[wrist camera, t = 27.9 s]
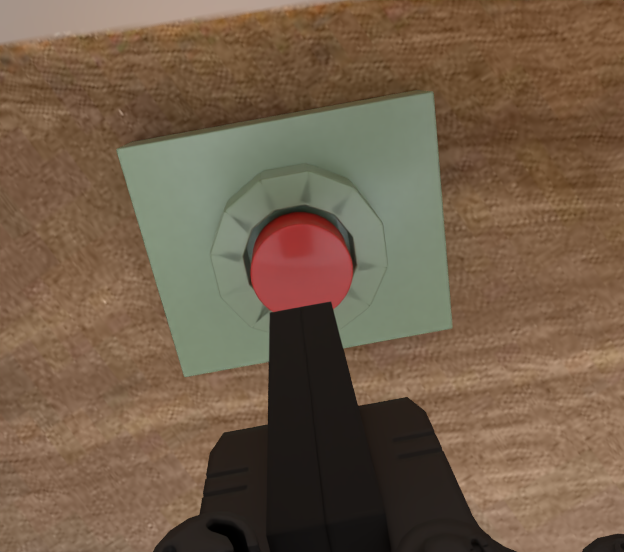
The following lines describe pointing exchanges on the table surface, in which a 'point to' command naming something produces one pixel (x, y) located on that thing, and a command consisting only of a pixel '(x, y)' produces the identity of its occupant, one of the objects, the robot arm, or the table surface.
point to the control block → (287, 199)
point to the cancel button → (300, 263)
